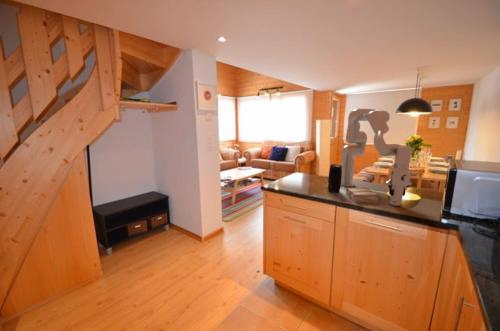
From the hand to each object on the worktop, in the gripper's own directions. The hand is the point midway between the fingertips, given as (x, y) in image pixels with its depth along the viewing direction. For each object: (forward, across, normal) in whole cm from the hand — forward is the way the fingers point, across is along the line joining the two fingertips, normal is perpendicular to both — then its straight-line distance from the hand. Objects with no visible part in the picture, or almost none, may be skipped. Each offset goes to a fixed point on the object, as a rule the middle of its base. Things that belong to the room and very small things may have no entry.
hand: (396, 194), depth 138 cm
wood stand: (+7, -16, +11) cm, 21 cm away
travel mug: (+7, 0, 0) cm, 7 cm away
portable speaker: (+7, -29, +25) cm, 39 cm away
